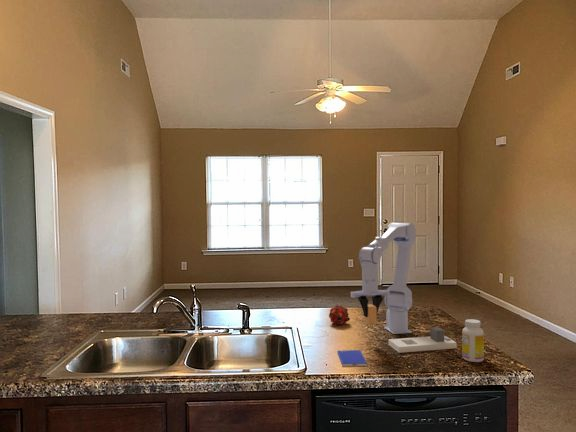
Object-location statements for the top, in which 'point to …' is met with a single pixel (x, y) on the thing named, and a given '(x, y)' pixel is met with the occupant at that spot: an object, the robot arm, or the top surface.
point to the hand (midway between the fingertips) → (370, 315)
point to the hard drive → (351, 358)
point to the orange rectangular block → (371, 314)
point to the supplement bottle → (473, 341)
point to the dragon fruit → (339, 315)
